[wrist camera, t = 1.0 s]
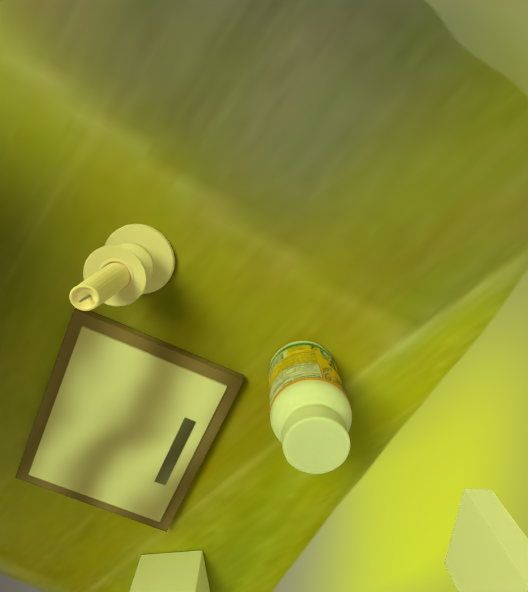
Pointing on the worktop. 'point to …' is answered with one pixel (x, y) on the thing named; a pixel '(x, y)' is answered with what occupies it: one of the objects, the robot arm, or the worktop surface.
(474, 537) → the robot arm
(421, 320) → the worktop surface
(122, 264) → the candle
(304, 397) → the supplement bottle
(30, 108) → the worktop surface
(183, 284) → the worktop surface
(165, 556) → the milk
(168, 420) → the writing board
